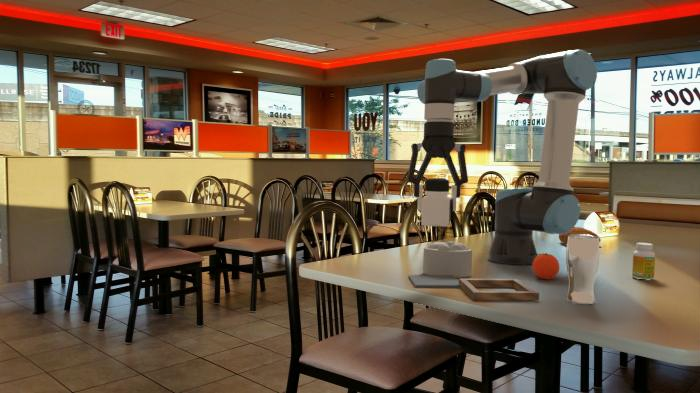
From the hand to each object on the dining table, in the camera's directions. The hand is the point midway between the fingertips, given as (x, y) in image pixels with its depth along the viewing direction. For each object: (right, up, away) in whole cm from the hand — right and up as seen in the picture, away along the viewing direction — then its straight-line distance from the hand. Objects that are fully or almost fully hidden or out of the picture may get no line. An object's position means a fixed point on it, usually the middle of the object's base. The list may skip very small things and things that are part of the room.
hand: (436, 210), depth 147 cm
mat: (0, -19, +1) cm, 19 cm away
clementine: (+30, -19, +8) cm, 37 cm away
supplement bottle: (+58, -19, +10) cm, 62 cm away
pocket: (+13, -20, -9) cm, 25 cm away
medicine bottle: (0, -4, 0) cm, 4 cm away
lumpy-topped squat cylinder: (+5, -18, +14) cm, 24 cm away
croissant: (+66, -15, +72) cm, 99 cm away
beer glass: (+30, -21, -17) cm, 40 cm away
